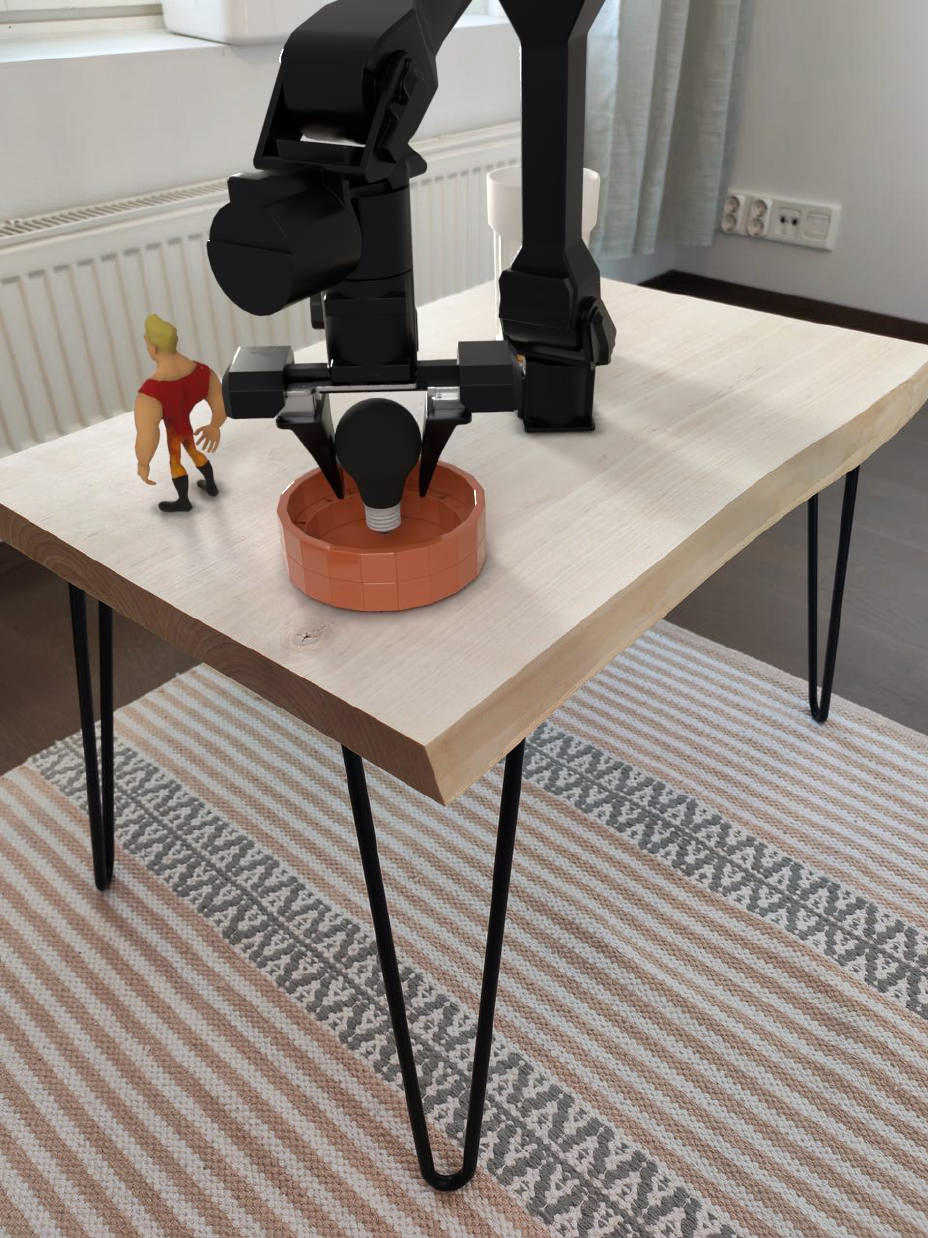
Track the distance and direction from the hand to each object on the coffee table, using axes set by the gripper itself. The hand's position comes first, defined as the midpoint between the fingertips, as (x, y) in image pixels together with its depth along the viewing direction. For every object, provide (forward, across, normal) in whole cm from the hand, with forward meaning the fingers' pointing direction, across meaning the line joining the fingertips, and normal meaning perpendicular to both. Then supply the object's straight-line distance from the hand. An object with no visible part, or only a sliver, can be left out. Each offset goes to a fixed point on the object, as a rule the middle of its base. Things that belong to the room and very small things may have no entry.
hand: (382, 495), depth 68 cm
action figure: (+5, +16, -10) cm, 20 cm away
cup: (+6, -15, -43) cm, 46 cm away
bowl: (+5, 0, 0) cm, 5 cm away
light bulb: (+3, 0, 0) cm, 3 cm away
